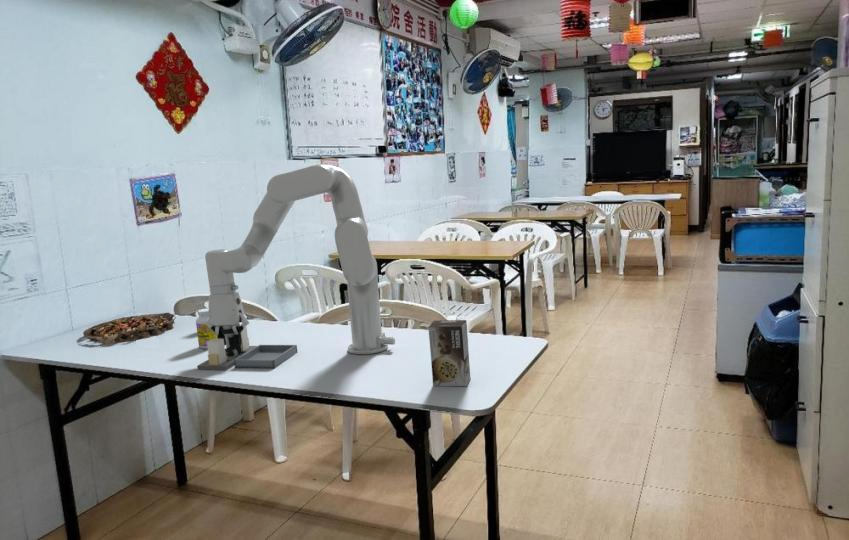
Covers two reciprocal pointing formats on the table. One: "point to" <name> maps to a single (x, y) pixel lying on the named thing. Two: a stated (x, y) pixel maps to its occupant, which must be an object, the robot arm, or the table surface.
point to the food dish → (130, 328)
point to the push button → (230, 342)
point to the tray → (266, 356)
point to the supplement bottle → (204, 329)
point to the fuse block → (223, 353)
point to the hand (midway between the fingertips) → (230, 345)
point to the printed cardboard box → (449, 353)
